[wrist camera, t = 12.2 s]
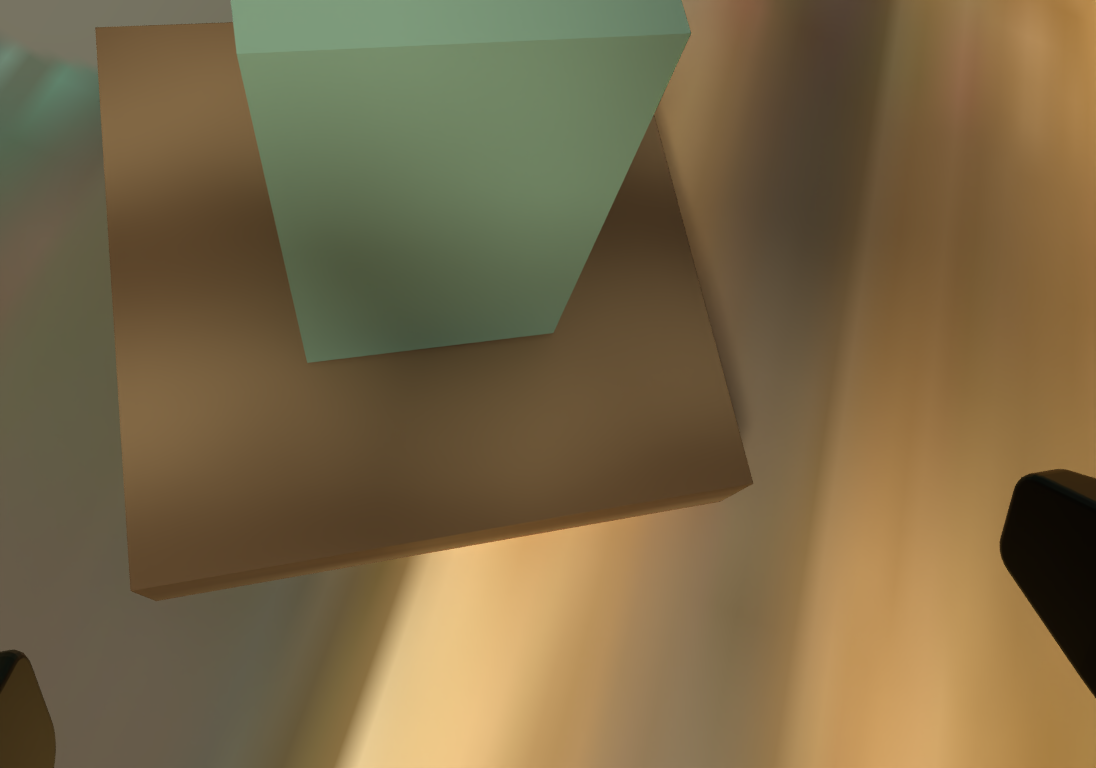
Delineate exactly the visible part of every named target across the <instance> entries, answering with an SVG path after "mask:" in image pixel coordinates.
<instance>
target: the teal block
mask: <svg viewBox="0 0 1096 768" xmlns="http://www.w3.org/2000/svg"><path fill="white" fill-rule="evenodd" d="M231 8H232V17H233V26H234V35H235V44H236V53H237V58H238V62H239V67H240V71H241V75H242V80H243V84H244V89H245V93H246V97H247V102H248V106H249V110H250V115H251V119H252V124H253V128H254V132H255V137H256V141H257V145H258V150H259V154H260V159H261V163H262V167H263V172H264V176H265V180H266V185H267V189H268V194H269V198H270V202H271V207H272V211H273V215H274V220H275V224H276V229H277V233H278V237H279V242H280V246H281V250H282V255H283V259H284V264H285V268H286V272H287V277H288V281H289V285H290V290H291V294H292V298H293V303H294V307H295V312H296V316H297V320H298V325H299V329H300V333H301V338H302V342H303V347H304V351H305V355H306V360H307V363H311V362H319V361H327V360H335V359H344V358H352V357H360V356H368V355H377V354H385V353H393V352H401V351H409V350H418V349H426V348H434V347H442V346H451V345H459V344H467V343H475V342H484V341H492V340H500V339H508V338H516V337H525V336H533V335H541V334H549V333H554V330H555V328H556V326H557V324H558V322H559V320H560V317H561V315H562V313H563V311H564V309H565V306H566V304H567V302H568V300H569V298H570V296H571V293H572V291H573V289H574V287H575V285H576V283H577V280H578V278H579V276H580V274H581V272H582V270H583V267H584V265H585V263H586V261H587V259H588V256H589V254H590V252H591V250H592V248H593V246H594V243H595V241H596V239H597V237H598V235H599V233H600V230H601V228H602V226H603V224H604V222H605V220H606V217H607V215H608V213H609V211H610V209H611V206H612V204H613V202H614V200H615V198H616V196H617V193H618V191H619V189H620V187H621V185H622V183H623V180H624V178H625V176H626V174H627V172H628V169H629V167H630V165H631V163H632V161H633V159H634V156H635V154H636V152H637V150H638V148H639V146H640V143H641V141H642V139H643V137H644V135H645V133H646V130H647V128H648V126H649V124H650V122H651V119H652V117H653V115H654V113H655V111H656V109H657V106H658V104H659V102H660V100H661V98H662V96H663V93H664V91H665V89H666V87H667V85H668V83H669V80H670V78H671V76H672V74H673V72H674V69H675V67H676V65H677V63H678V61H679V59H680V56H681V54H682V52H683V50H684V48H685V46H686V43H687V41H688V39H689V37H690V35H691V31H690V28H689V25H688V21H687V18H686V14H685V11H684V8H683V4H682V1H681V0H231Z"/></svg>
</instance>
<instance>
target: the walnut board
mask: <svg viewBox="0 0 1096 768" xmlns="http://www.w3.org/2000/svg"><path fill="white" fill-rule="evenodd" d="M95 29H96V45H97V60H98V77H99V93H100V109H101V125H102V141H103V157H104V173H105V189H106V205H107V221H108V237H109V253H110V269H111V285H112V301H113V317H114V333H115V349H116V365H117V381H118V397H119V413H120V429H121V445H122V461H123V477H124V493H125V509H126V525H127V541H128V557H129V573H130V589H131V591H132V592H135V593H137V594H140V595H142V596H145V597H147V598H150V599H152V600H155V601H159V600H165V599H170V598H176V597H182V596H187V595H193V594H199V593H204V592H210V591H216V590H221V589H227V588H233V587H238V586H244V585H250V584H255V583H261V582H267V581H272V580H278V579H284V578H289V577H295V576H301V575H306V574H312V573H318V572H323V571H329V570H335V569H340V568H346V567H352V566H357V565H363V564H369V563H375V562H380V561H386V560H392V559H397V558H403V557H409V556H414V555H420V554H426V553H431V552H437V551H443V550H448V549H454V548H460V547H465V546H471V545H477V544H482V543H488V542H494V541H499V540H505V539H511V538H516V537H522V536H528V535H533V534H539V533H545V532H550V531H556V530H562V529H567V528H573V527H579V526H584V525H590V524H596V523H601V522H607V521H613V520H619V519H624V518H630V517H636V516H641V515H647V514H653V513H658V512H664V511H670V510H675V509H681V508H687V507H692V506H698V505H704V504H709V503H715V502H720V501H722V500H724V499H726V498H728V497H729V496H731V495H733V494H735V493H737V492H739V491H740V490H742V489H744V488H746V487H748V486H749V485H751V484H753V481H752V477H751V473H750V470H749V466H748V462H747V458H746V455H745V451H744V447H743V443H742V440H741V436H740V432H739V429H738V425H737V421H736V417H735V414H734V410H733V406H732V403H731V399H730V395H729V391H728V388H727V384H726V380H725V377H724V373H723V369H722V365H721V362H720V358H719V354H718V351H717V347H716V343H715V339H714V336H713V332H712V328H711V324H710V321H709V317H708V313H707V310H706V306H705V302H704V298H703V295H702V291H701V287H700V284H699V280H698V276H697V272H696V269H695V265H694V261H693V258H692V254H691V250H690V246H689V243H688V239H687V235H686V232H685V228H684V224H683V220H682V217H681V213H680V209H679V206H678V202H677V198H676V194H675V191H674V187H673V183H672V179H671V176H670V172H669V168H668V165H667V161H666V157H665V153H664V150H663V146H662V142H661V139H660V135H659V131H658V127H657V124H656V120H655V116H654V115H653V117H652V119H651V122H650V124H649V126H648V128H647V130H646V133H645V135H644V137H643V139H642V141H641V143H640V146H639V148H638V150H637V152H636V154H635V156H634V159H633V161H632V163H631V165H630V167H629V169H628V172H627V174H626V176H625V178H624V180H623V183H622V185H621V187H620V189H619V191H618V193H617V196H616V198H615V200H614V202H613V204H612V206H611V209H610V211H609V213H608V215H607V217H606V220H605V222H604V224H603V226H602V228H601V230H600V233H599V235H598V237H597V239H596V241H595V243H594V246H593V248H592V250H591V252H590V254H589V256H588V259H587V261H586V263H585V265H584V267H583V270H582V272H581V274H580V276H579V278H578V280H577V283H576V285H575V287H574V289H573V291H572V293H571V296H570V298H569V300H568V302H567V304H566V306H565V309H564V311H563V313H562V315H561V317H560V320H559V322H558V324H557V326H556V328H555V330H554V333H549V334H541V335H533V336H525V337H516V338H508V339H500V340H492V341H484V342H475V343H467V344H459V345H451V346H442V347H434V348H426V349H418V350H409V351H401V352H393V353H385V354H377V355H368V356H360V357H352V358H344V359H335V360H327V361H319V362H311V363H307V360H306V355H305V351H304V347H303V342H302V338H301V333H300V329H299V325H298V320H297V316H296V312H295V307H294V303H293V298H292V294H291V290H290V285H289V281H288V277H287V272H286V268H285V264H284V259H283V255H282V250H281V246H280V242H279V237H278V233H277V229H276V224H275V220H274V215H273V211H272V207H271V202H270V198H269V194H268V189H267V185H266V180H265V176H264V172H263V167H262V163H261V159H260V154H259V150H258V145H257V141H256V137H255V132H254V128H253V124H252V119H251V115H250V110H249V106H248V102H247V97H246V93H245V89H244V84H243V80H242V75H241V71H240V67H239V62H238V58H237V53H236V44H235V35H234V26H233V22H229V23H204V24H203V23H202V24H176V25H149V26H125V27H124V26H123V27H96V28H95Z"/></svg>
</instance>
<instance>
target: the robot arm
mask: <svg viewBox="0 0 1096 768" xmlns="http://www.w3.org/2000/svg"><path fill="white" fill-rule="evenodd" d="M1000 553H1001V558H1002V560H1003V563H1004V565H1005V567H1006V568H1007V570H1008V571H1009V573H1010V574H1011V576H1012V577H1013V579H1014V580H1015V582H1016V583H1017V585H1018V586H1019V588H1020V589H1021V591H1022V592H1023V593H1024V595H1025V596H1026V598H1027V599H1028V601H1029V602H1030V604H1031V605H1032V607H1033V608H1034V610H1035V611H1036V613H1037V614H1038V616H1039V617H1040V618H1041V620H1042V621H1043V623H1044V624H1045V626H1046V627H1047V629H1048V630H1049V632H1050V633H1051V635H1052V636H1053V638H1054V639H1055V641H1056V642H1057V643H1058V645H1059V646H1060V648H1061V649H1062V651H1063V652H1064V654H1065V655H1066V657H1067V658H1068V660H1069V661H1070V663H1071V664H1072V666H1073V667H1074V668H1075V670H1076V671H1077V673H1078V674H1079V676H1080V677H1081V679H1082V680H1083V681H1084V683H1085V684H1086V686H1087V687H1088V688H1089V690H1090V691H1091V693H1092V694H1093V695H1094V697H1095V698H1096V479H1095V478H1092V477H1089V476H1086V475H1082V474H1079V473H1076V472H1073V471H1069V470H1064V469H1055V470H1049V471H1043V472H1037V473H1031V474H1028V475H1025V476H1024V477H1022V478H1021V479H1020V480H1019V481H1018V482H1017V484H1016V486H1015V488H1014V491H1013V495H1012V498H1011V502H1010V506H1009V509H1008V513H1007V516H1006V520H1005V524H1004V527H1003V531H1002V535H1001V538H1000ZM55 753H56V741H55V732H54V727H53V723H52V720H51V717H50V715H49V712H48V709H47V706H46V704H45V701H44V698H43V695H42V693H41V690H40V687H39V684H38V682H37V679H36V676H35V674H34V671H33V668H32V665H31V663H30V661H29V659H28V658H27V657H26V656H25V654H24V653H22V652H20V651H17V650H8V651H2V652H0V768H54V763H55Z"/></svg>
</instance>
